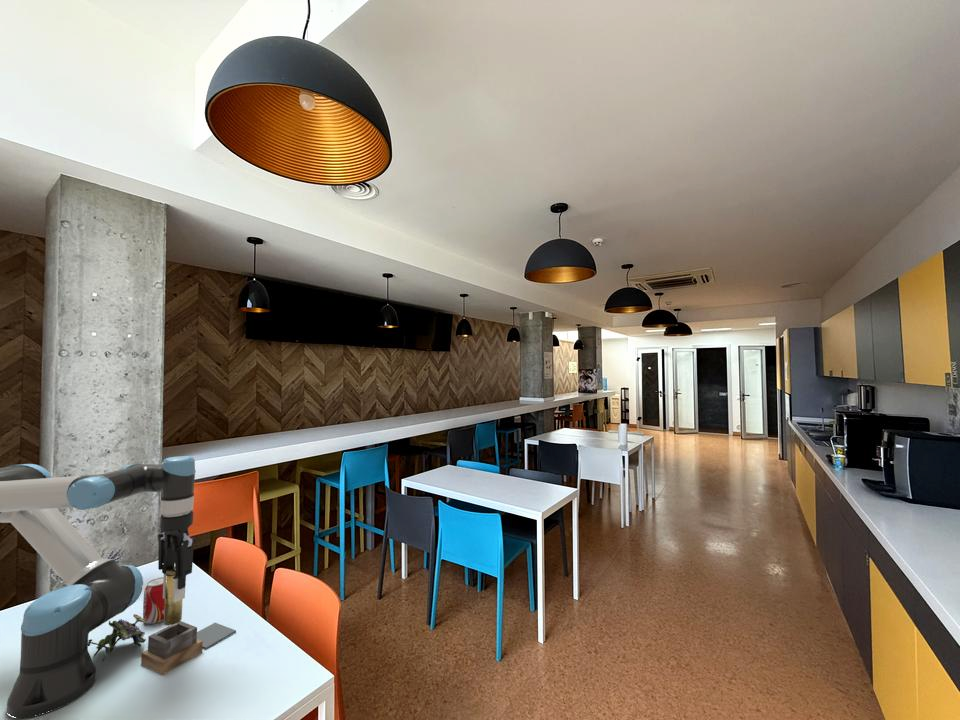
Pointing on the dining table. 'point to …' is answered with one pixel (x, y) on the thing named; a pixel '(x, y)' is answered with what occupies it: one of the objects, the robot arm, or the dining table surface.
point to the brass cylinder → (171, 601)
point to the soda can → (154, 601)
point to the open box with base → (171, 647)
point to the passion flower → (121, 635)
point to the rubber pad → (213, 634)
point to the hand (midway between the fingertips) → (173, 597)
